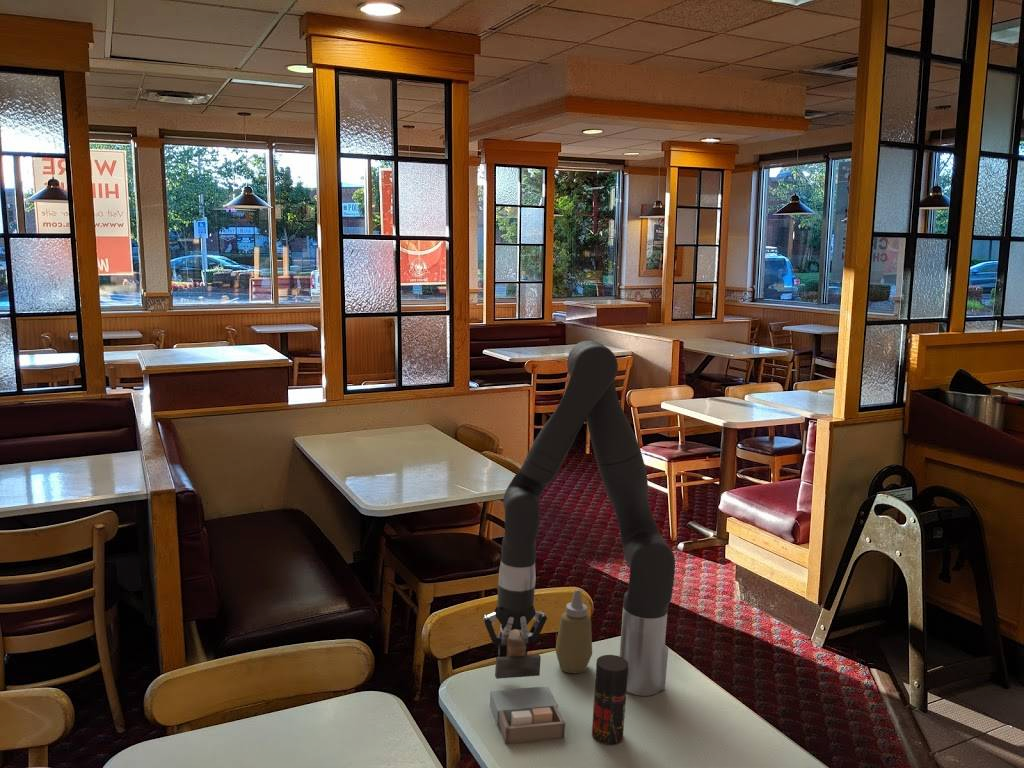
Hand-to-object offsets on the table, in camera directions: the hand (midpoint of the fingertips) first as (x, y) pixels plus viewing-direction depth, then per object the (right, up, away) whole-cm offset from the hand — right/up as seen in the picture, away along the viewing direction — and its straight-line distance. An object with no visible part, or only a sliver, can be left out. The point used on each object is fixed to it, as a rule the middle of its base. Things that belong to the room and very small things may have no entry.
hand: (512, 659), depth 168 cm
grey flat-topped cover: (+2, -8, -8) cm, 11 cm away
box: (+4, -9, -15) cm, 17 cm away
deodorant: (+18, -10, -15) cm, 25 cm away
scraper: (0, -1, 0) cm, 1 cm away
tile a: (+5, -6, -13) cm, 16 cm away
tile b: (+1, -6, -15) cm, 16 cm away
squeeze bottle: (+13, -5, +10) cm, 17 cm away
